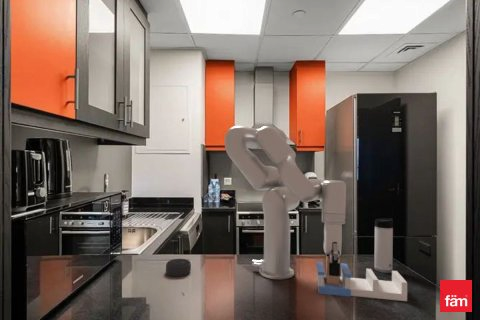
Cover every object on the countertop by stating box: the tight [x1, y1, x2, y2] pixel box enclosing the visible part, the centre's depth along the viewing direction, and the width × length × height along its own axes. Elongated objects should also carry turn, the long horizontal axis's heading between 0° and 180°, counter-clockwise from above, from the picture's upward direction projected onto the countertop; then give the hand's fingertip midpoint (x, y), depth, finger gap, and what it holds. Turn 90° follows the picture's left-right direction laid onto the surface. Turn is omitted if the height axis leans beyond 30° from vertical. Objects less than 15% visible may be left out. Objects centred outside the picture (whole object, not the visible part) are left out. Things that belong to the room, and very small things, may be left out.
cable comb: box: [316, 260, 408, 302], centre depth 96 cm, size 26×11×6 cm, turn 78°
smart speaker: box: [165, 258, 192, 277], centre depth 109 cm, size 9×9×4 cm
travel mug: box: [373, 217, 395, 274], centre depth 115 cm, size 6×7×20 cm
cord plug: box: [325, 252, 341, 285], centre depth 98 cm, size 4×4×11 cm
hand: (332, 270), depth 98 cm, fingers open, 9 cm apart
